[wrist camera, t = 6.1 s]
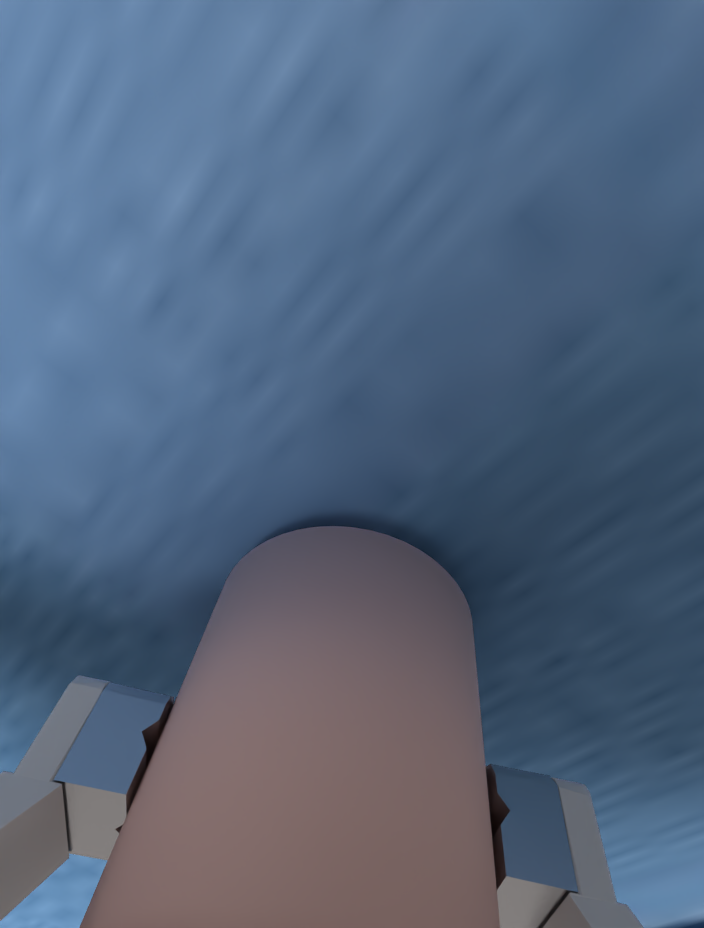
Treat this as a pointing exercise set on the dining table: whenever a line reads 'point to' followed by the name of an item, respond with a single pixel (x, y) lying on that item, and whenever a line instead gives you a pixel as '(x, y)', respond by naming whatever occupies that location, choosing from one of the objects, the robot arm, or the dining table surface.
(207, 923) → the rose cylinder
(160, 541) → the dining table surface
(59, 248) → the dining table surface
